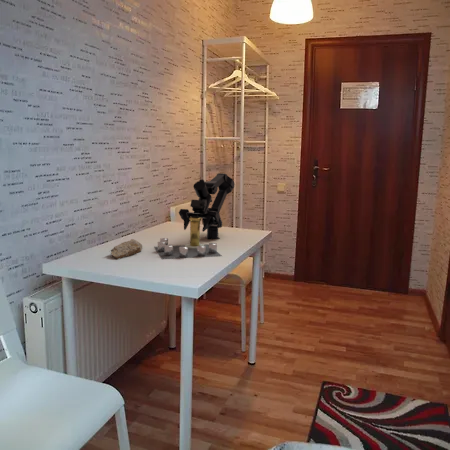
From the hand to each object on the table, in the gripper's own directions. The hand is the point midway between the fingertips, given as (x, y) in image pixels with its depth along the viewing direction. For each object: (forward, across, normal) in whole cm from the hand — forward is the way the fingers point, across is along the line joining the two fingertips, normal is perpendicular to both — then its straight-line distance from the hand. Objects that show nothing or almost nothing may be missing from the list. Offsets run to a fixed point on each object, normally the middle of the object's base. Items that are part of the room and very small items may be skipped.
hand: (193, 230), depth 204 cm
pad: (+5, 0, +7) cm, 8 cm away
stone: (+22, -22, -9) cm, 32 cm away
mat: (+12, +1, 0) cm, 12 cm away
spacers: (+14, 0, -3) cm, 15 cm away
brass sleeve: (+4, 0, +6) cm, 7 cm away
